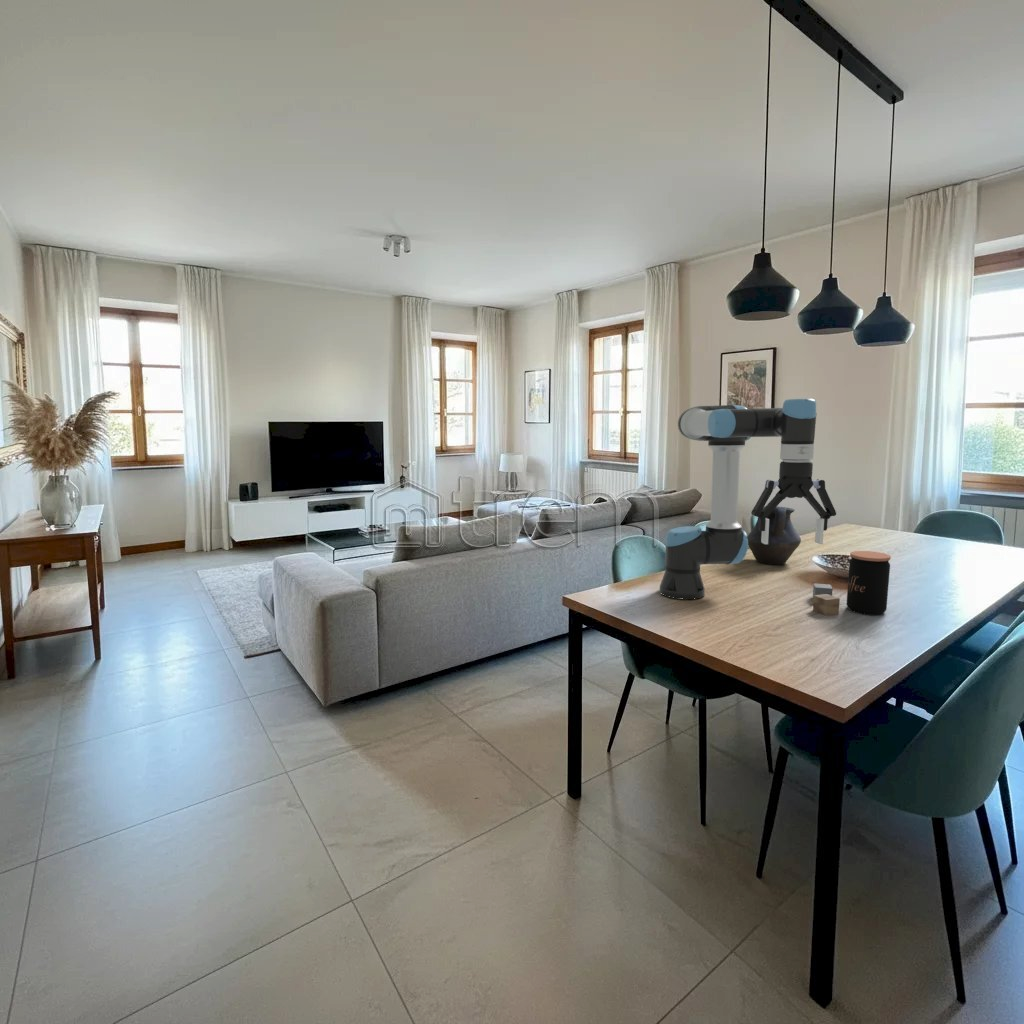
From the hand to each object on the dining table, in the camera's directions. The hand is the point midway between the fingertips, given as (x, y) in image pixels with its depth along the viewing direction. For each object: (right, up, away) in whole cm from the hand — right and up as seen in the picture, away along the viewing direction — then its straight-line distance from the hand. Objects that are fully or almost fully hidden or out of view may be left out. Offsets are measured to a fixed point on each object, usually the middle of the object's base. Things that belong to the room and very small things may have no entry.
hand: (791, 543), depth 148 cm
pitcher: (+38, -14, +94) cm, 102 cm away
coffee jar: (+39, -23, +32) cm, 55 cm away
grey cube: (+31, -21, +43) cm, 57 cm away
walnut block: (+26, -23, +31) cm, 46 cm away
